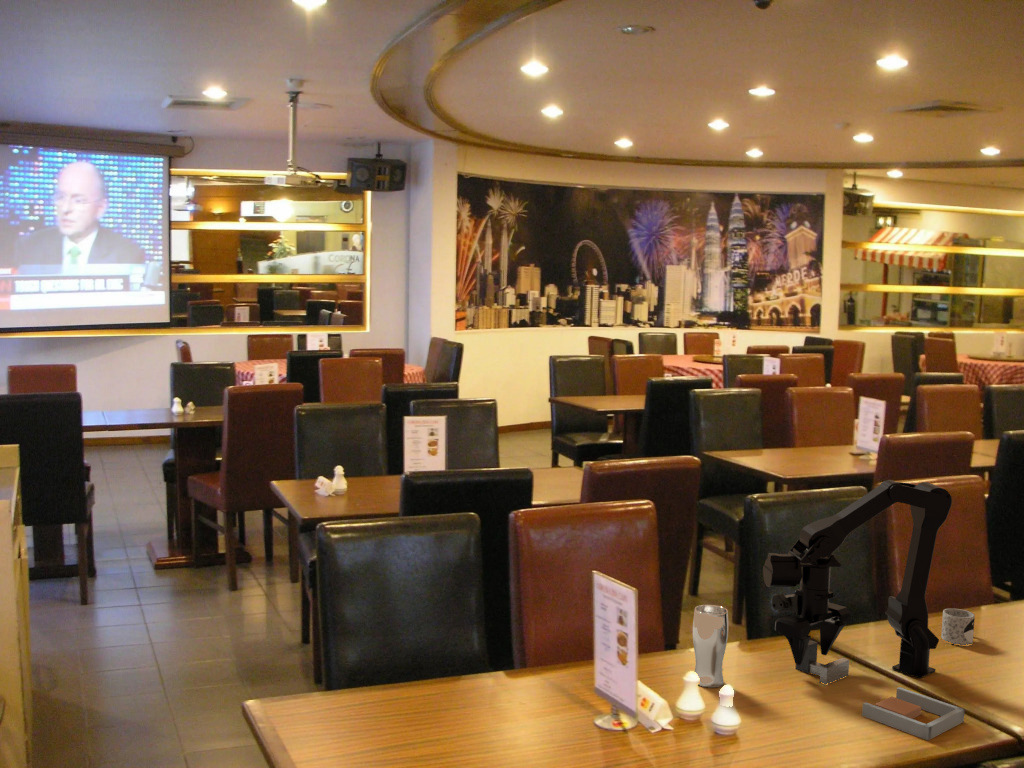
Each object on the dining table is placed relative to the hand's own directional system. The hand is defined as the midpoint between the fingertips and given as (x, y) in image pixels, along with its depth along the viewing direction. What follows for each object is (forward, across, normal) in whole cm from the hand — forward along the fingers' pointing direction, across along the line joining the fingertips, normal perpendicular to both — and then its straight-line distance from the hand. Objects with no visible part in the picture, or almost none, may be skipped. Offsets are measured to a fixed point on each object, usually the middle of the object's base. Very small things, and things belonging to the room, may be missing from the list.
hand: (811, 659), depth 214 cm
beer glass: (+3, +22, -9) cm, 24 cm away
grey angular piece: (+3, 0, +2) cm, 3 cm away
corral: (+2, +5, +26) cm, 26 cm away
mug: (+3, -45, +9) cm, 46 cm away
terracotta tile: (+3, +5, +22) cm, 23 cm away
